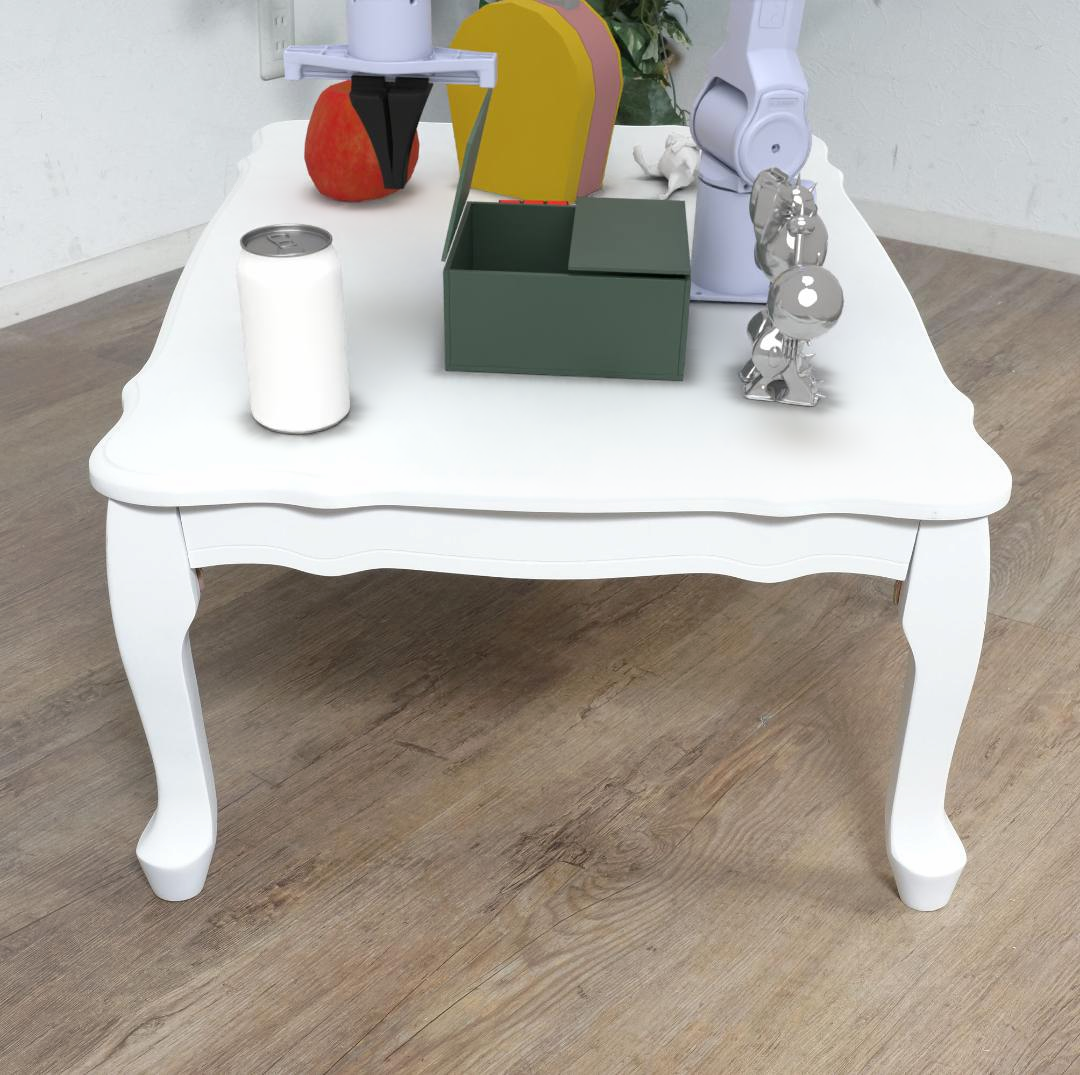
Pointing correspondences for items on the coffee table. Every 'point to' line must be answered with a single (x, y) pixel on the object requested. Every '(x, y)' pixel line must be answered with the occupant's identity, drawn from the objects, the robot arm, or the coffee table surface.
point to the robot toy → (788, 290)
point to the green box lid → (466, 173)
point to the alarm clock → (540, 98)
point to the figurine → (673, 162)
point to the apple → (345, 150)
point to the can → (293, 328)
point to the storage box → (569, 289)
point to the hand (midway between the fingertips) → (395, 184)
